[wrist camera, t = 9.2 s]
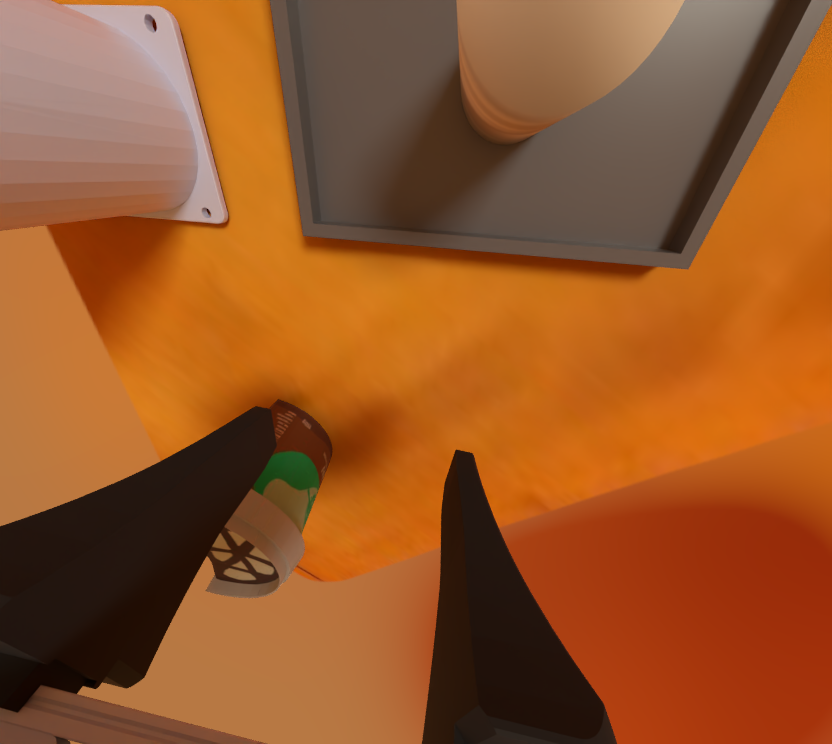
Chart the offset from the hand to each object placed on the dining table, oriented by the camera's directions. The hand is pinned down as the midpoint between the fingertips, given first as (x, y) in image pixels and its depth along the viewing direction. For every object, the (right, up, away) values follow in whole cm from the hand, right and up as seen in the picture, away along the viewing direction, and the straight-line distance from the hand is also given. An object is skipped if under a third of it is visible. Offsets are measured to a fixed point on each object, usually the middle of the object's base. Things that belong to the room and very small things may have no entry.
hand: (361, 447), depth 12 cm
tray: (+6, +15, +1) cm, 16 cm away
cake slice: (-7, -4, +15) cm, 17 cm away
